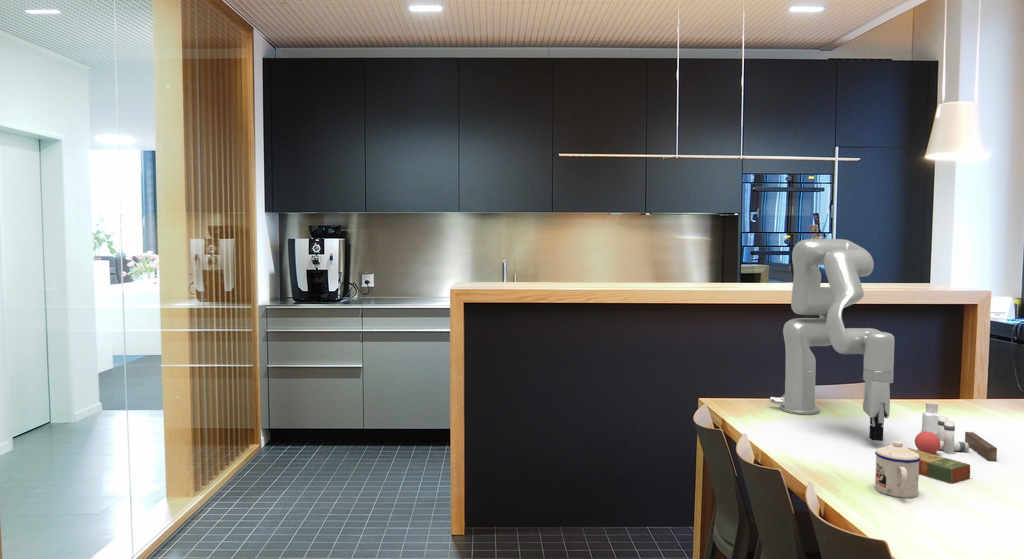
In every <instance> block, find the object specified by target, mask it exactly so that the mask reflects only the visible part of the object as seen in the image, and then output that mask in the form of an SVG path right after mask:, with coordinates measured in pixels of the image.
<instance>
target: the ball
mask: <svg viewBox="0 0 1024 559" xmlns="http://www.w3.org/2000/svg"><path fill="white" fill-rule="evenodd" d="M914 445H915V447H916V450H919V451H922V452H926V453H930V454H933V455H934V454H935V453H936V452H938V451H939V448H940V440H939V438H938V437H937V436H936V435H935V434H934V433H932V432H928V431H924V432H922V431H921V432H919V433H918V434H917V435H916V436H915V438H914Z"/></svg>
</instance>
